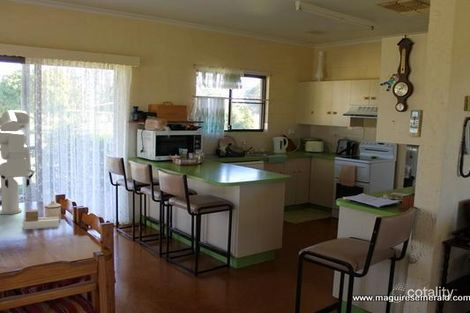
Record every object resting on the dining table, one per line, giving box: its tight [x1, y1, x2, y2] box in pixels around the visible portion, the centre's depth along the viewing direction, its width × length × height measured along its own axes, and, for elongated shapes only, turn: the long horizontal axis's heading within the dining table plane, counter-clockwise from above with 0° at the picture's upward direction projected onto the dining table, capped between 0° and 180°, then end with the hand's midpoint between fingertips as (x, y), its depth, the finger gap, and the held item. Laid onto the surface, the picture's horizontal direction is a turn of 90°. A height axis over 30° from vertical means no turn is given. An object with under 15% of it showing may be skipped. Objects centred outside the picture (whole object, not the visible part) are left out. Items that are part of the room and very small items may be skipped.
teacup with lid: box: [44, 200, 62, 222], centre depth 250 cm, size 12×9×12 cm
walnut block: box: [25, 208, 39, 222], centre depth 234 cm, size 5×6×8 cm
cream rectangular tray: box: [22, 216, 60, 230], centre depth 236 cm, size 8×18×4 cm, turn 114°
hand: (17, 186), depth 230 cm, fingers open, 9 cm apart
